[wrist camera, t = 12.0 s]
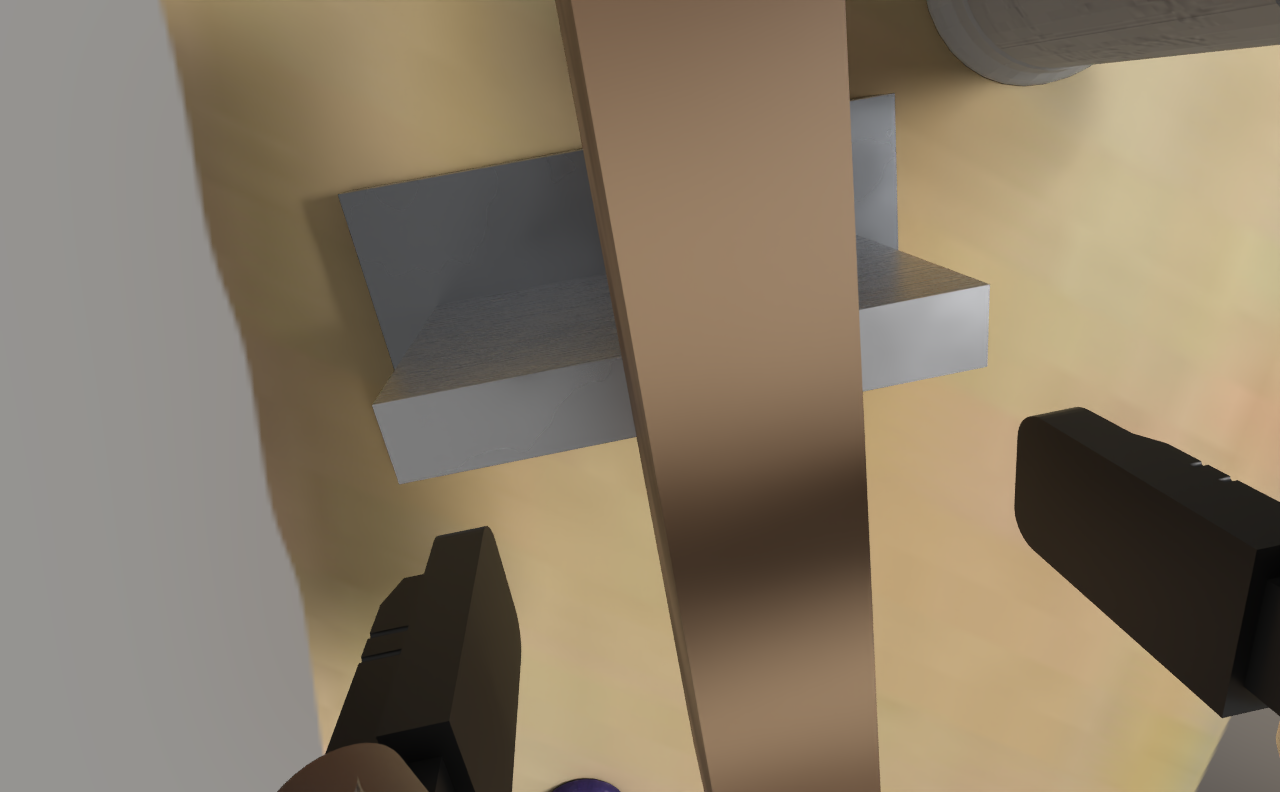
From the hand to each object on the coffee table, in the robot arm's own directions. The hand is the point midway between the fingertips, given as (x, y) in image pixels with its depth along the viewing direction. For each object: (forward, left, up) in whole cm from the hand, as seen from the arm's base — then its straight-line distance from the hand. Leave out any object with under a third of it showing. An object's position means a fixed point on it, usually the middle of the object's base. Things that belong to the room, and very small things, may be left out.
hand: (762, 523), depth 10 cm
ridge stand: (0, 0, -16) cm, 16 cm away
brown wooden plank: (0, 0, -6) cm, 6 cm away
